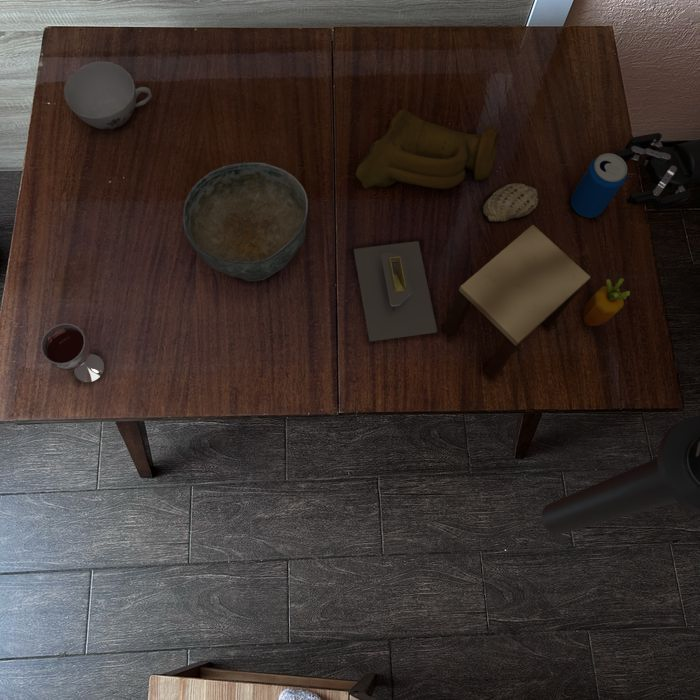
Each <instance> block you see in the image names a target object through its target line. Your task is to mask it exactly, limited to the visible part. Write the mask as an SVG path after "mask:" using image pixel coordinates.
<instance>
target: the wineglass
mask: <svg viewBox="0 0 700 700" xmlns="http://www.w3.org/2000/svg"><path fill="white" fill-rule="evenodd" d="M91 344H92V343H91V341H90V339H89V337H88V335H87V334H86V333H85V332H84V331H83V330H82V329H81V328H80V327H79V326H77V325H75V324H73V323H66V322H65V323H60V324H59V323H58V324H56V325H54V326H52V327H51V328H49V329H48V330H47V331H46V332H45V333H44V335H43V337H42V339H41V342H40V351H41V353H42V356H43V357H44V359H46V360H47V362H49V363H50V364H51V365H52V366H53V367H54V368H57V369H59V370H63V371H64V370H65V371H69V370H70V371H71V370H73V373H74V376H75V377H76V378H77V380H79V381H81V382H83V383H92V382H94V381H96V380H98V379H99V378H101V376H102V374H103V373H104V370H105V363H104V361H103V359H102V358H101V357H100V356H99V355H96V354H94V353H93V354H92V353H91V351H92V346H91Z"/></svg>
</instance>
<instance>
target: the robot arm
mask: <svg viewBox="0 0 700 700" xmlns="http://www.w3.org/2000/svg"><path fill="white" fill-rule="evenodd" d="M662 137H663V135H662V134H661V133H660V132H655V133H649V134H643V135H638V136H637V135H636V136H632V137H631V138H630V139H629V140H628V142H627V144H626V145H625V146H624V147H625V149H622V150H616V151H614V152H613V153H612V154H615V155H617V156H619V157H621V158H622V159H623V160H624V161H625V162H628V161H632V162H636V163H637V166H638V165H639V166H641V167H645V171H646V173H647V174H648V175H649V177H650V181H651V183H654V184H655V187H654V188H653V190H651V189H649V190H645V191H641V192H636V193H633V194H631V195H630V196H629V197H628V198H627V199H626V201H627V203H628V205H632V206H639V205H643V204H647V203H649V204H652V205H653V206H654V210H655V211H658V212H660V211H663V210H666V209H670V208H672V207H675V206H678V205H682V204H685V202H686V201H687V200H688V199H689V198H690V197H691V196H692V191H690V190H688V189H686V187H685V186H690V185H694V184H698V183H700V138H699V139H694V140H690V141H686V142H681V143H678V144H674V145H672V146H663V143H662V141H661V139H662ZM648 157H649V159H647V158H648ZM665 188H666V189H670V190H673V191H674V193H673V194H670V195H667V196H662V195H660V194H661V193H662V192H663V190H664V189H665ZM685 466H686V469H687V472H688V474H689V476H690V477H691V479H692V480H693V481H694V482H695V483H696V484H697V485H698V486H699V487H700V437H698V438H696V439H694V440H693V441H692V442H691V443H690V444H689V446H688V447H687V449H686V452H685Z"/></svg>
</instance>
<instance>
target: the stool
mask: <svg viewBox="0 0 700 700" xmlns="http://www.w3.org/2000/svg"><path fill="white" fill-rule="evenodd" d="M590 279H591V276H590V275H589V274H588V273H587V272H586V271H585V270H584V269H582V268H581V267H580V266H579V265H578V264H577V263H576V262H575V261H574V260H573V259H571V258H570V257H569V256H568V255H567V254H566V253H565V252H564V251H563V250H562V249H561V248H559V247H558V246H557V245H556V244H555V243H554V242H553V241H552V240H551V239H550V238H548V237H547V236H546V235H545V234H544V233H543V232H542V230H540V229H538V227H536V226H535V224H532V225H530V226H529V227H528V228H527V229H525V230H524V231H523V232H522V233H521V234H519V236H517V237H516V238H515V239H514V240H512V242H510V243H509V244H508V245H507V246H505V248H503V249H502V250H501V251H500V252H499V253H497V254H496V255H495V256H494V257H492V259H490V260H489V261H488V262H487V263H486V264H484V265H483V266H482V267H481V268H480V269H479V270H478V271H476V273H474V274H473V275H471V276H470V277H469V278H468V279H467V280H466V281H465V282H464V283H462V284H461V285H460V286H459V288H458V290H457V293H456V296H455V298H454V301H453V303H452V305H451V307H450V310H449V312H448V315H447V316H446V320H445V322H444V325H443V327H442V329H441V331H443V332H444V333H445V335H447V336H448V337H449V339H450V338H452V337H453V336H454V335H455V334H457V333H458V332H459V330H460V328H461V326H462V324H463V321H464V320H465V317H466V316H467V314H468V311H469V309H470V307H471V305H473V306H474V307H475V308H476V309H477V310H478V311H479V312H480V313H481V314H482V315H483V316H484V317H485V318H487V319H488V321H490V323H491V324H492V325H494V326H495V328H497V329H498V331H500V332H501V333H502V334H503V335H504V336H505V338H504V339H503V340H502V342H501V344H500V345H499V346H498V348H497V350H496V351H495V352H494V353H493V355H492V357H491V358H490V360H489V361H488V363H487V365H486V366H485V367H484V368H483V373H485V374H486V375H487V376H488V377H489V378H490V380H492V379H493V378H494V377H496V376H497V375H498V374H499V373H500V372H501V371H502V369H503V368H504V367H505V365H506V364H507V363H508V361H509V360H510V359H511V357H512V356H513V355H514V353H515V352H516V351H517V349H518V348H519V347H520V345H521V344H522V343H523V341H524V340H525V339H526V338H527V337H528V336H529V335H531V333H532V332H533V331H534V330H535V329H537V328H538V327H539V326H540V325H541V324H542V325H543V326H544V327H545V328H546V329H548V328H549V327H551V326H552V325H553V324H554V323H555V322H556V321H557V319H558V318H559V317H560V316H561V314H562V313H563V312H564V311H565V310H566V308H567V307H568V306H569V304H571V302H572V301H573V300H574V299H575V297H576V296H577V295H578V293H580V291H581V290H582V289H583V288H584V286H585V285H586V284H587V282H588V281H589V280H590Z"/></svg>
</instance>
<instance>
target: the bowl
mask: <svg viewBox="0 0 700 700" xmlns="http://www.w3.org/2000/svg"><path fill="white" fill-rule="evenodd" d="M306 192H307V191H306V189H305V188H304V186H303V185H302V184H301V183H300V181H299V180H298V179H297V178H296V177H295V176H294V175H292V174H291V173H289V172H288V171H286V170H285V169H283V168H280V167H277V166H275V165H272V164H268V163H265V162H253V161H249V162H239V163H232V164H228V165H224V166H221V167H219V168H216V169H214V170H212V171H210V172H208V173H207V174H205V176H203V177H202V178H200V179H199V180H198V181H197V182H196V183H195V184H194V185H193V186H192V187H191V189H190V191H189V193H188V194H187V197H186V199H185V201H184V205H183V209H182V210H183V211H182V225H183V230H184V233H185V235H186V237H187V239H188V243H189V244H190V246H191V248H192V249H193V250H194V252H195V253H196V254H197V255H198V256H199V257H200V259H202V261H203V262H204V263H205V265H207V266H208V267H209V268H211V269H213V270H215V271H217V272H219V273H221V274H224V275H225V276H229V277H231V278H236V279H242V280H243V281H247V282H257V281H263V280H266V279H268V278H270V277H271V276H273V275H274V274H276V273H278V272H279V271H281V270H283V269H285V268H286V266H287V264H289V262H290V261H291V260H292V259H293V258H294V257H295V255H296V254H297V253H298V251H299V250H300V248H301V247H302V246H303V244H304V243H305V239H306V232H307V231H306V230H307V220H308V211H309V210H308V209H309V203H308V202H309V199H308V195H307V193H306Z"/></svg>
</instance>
